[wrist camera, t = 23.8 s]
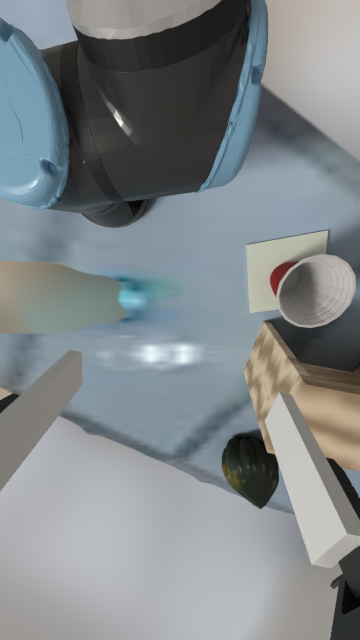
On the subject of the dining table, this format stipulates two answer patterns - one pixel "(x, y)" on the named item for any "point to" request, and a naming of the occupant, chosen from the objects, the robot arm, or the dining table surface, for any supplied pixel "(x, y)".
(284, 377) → the oak cabinet
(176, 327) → the dining table surface
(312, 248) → the mat
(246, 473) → the squash
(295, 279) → the plastic cup
